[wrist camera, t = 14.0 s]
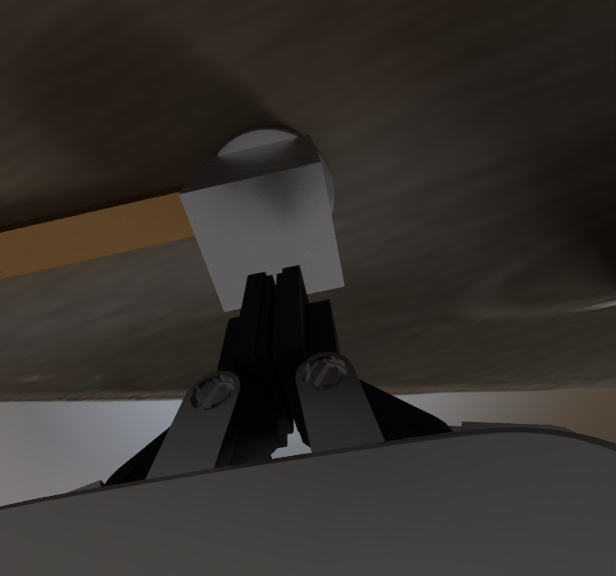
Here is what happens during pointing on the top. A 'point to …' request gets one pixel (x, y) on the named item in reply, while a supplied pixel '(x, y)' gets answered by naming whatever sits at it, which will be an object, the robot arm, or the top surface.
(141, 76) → the top surface
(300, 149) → the white block
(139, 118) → the top surface
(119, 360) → the top surface
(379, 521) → the robot arm
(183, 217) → the hammer
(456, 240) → the top surface
